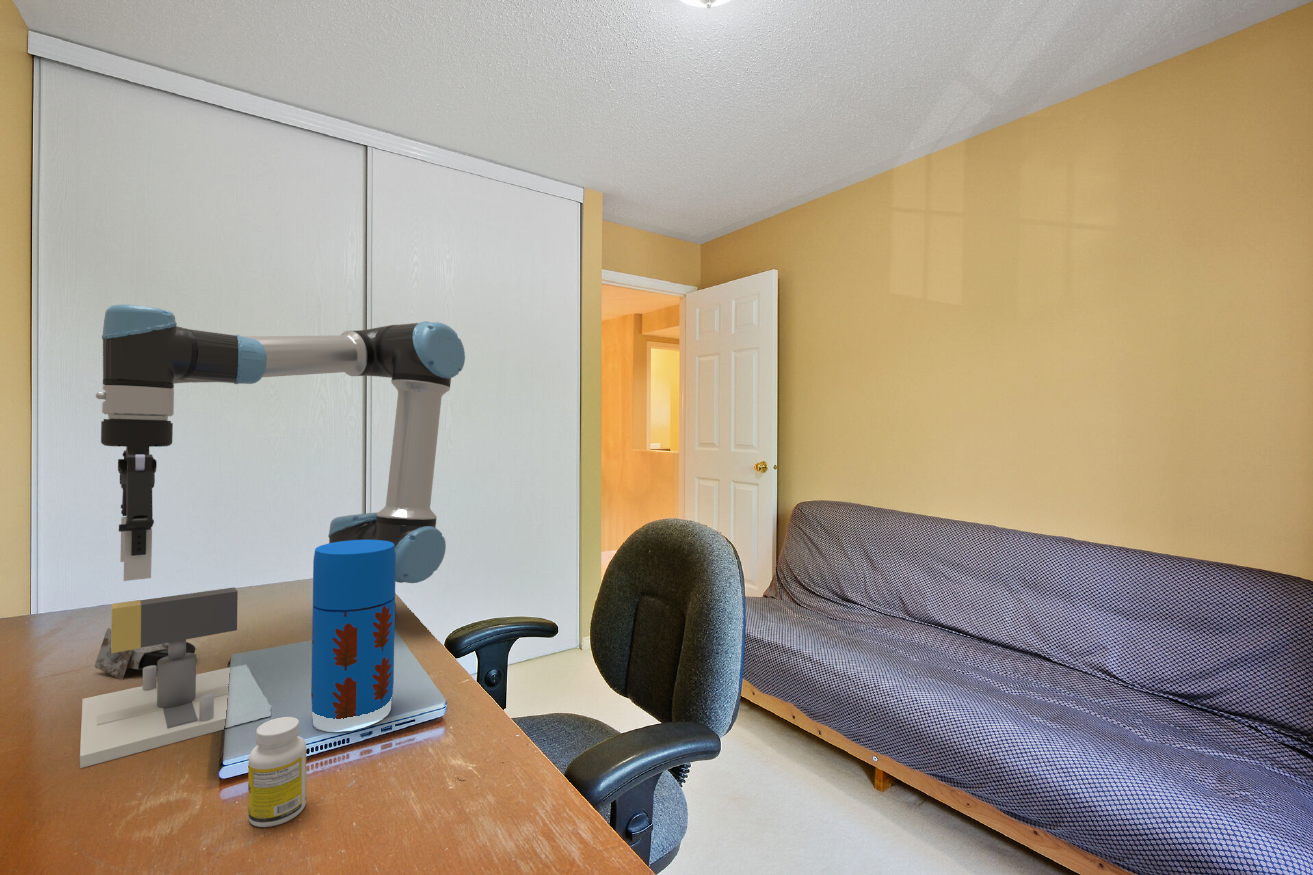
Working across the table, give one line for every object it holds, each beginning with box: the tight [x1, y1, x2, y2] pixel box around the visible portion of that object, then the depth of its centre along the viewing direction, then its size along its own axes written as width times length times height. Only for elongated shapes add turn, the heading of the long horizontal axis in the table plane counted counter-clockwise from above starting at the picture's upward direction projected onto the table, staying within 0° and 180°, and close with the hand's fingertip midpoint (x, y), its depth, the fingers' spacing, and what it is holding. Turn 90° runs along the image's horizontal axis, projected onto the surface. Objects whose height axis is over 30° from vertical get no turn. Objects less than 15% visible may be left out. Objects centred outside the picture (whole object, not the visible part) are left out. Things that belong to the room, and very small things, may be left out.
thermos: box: [310, 540, 396, 719], centre depth 87 cm, size 11×11×25 cm
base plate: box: [79, 653, 230, 769], centre depth 86 cm, size 20×20×8 cm
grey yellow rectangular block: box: [110, 587, 239, 659], centre depth 86 cm, size 14×3×9 cm, turn 134°
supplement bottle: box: [247, 716, 307, 828], centre depth 65 cm, size 5×5×10 cm
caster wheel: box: [94, 627, 197, 680], centre depth 102 cm, size 7×11×10 cm
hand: (134, 569), depth 83 cm, fingers open, 13 cm apart
